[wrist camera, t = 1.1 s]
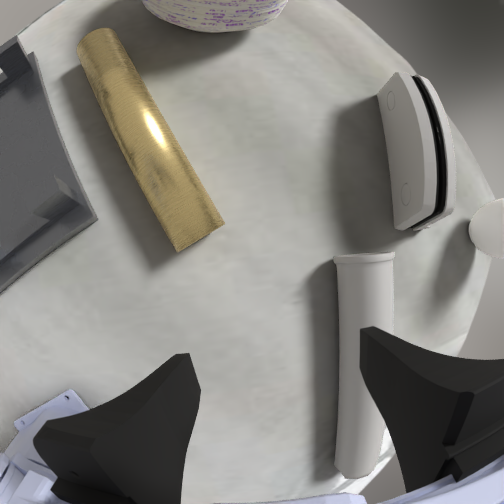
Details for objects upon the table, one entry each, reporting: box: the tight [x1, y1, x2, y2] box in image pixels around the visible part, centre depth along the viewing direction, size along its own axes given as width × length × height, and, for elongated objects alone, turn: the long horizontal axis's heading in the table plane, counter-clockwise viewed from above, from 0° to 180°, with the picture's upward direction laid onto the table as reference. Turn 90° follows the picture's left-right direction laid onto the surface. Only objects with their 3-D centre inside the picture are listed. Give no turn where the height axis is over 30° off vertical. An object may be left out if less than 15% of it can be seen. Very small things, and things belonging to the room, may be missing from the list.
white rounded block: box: [377, 72, 456, 231], centre depth 25 cm, size 17×5×10 cm, turn 0°
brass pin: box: [77, 28, 225, 253], centre depth 19 cm, size 21×4×4 cm, turn 32°
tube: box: [333, 252, 395, 479], centre depth 24 cm, size 5×5×25 cm
